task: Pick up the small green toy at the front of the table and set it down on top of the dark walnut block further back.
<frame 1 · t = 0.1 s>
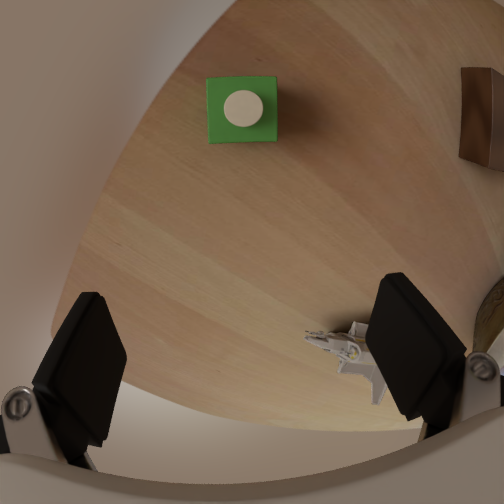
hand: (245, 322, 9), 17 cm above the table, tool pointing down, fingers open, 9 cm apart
green toy: (239, 110, 21), on the table
walnut block: (487, 121, 22), on the table
toy spacecraft: (348, 328, 34), on the table
bowl: (492, 303, 37), on the table
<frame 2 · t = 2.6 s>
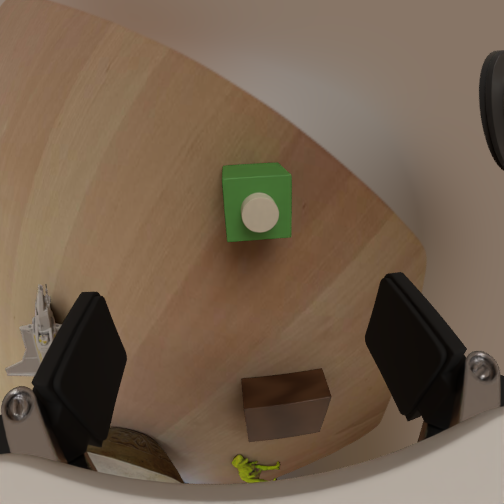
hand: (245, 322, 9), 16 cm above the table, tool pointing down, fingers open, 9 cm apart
green toy: (251, 190, 23), on the table
walnut block: (281, 395, 38), on the table
dinosaur figurine: (251, 465, 53), on the table
toy spacecraft: (58, 318, 28), on the table
bowl: (129, 437, 43), on the table
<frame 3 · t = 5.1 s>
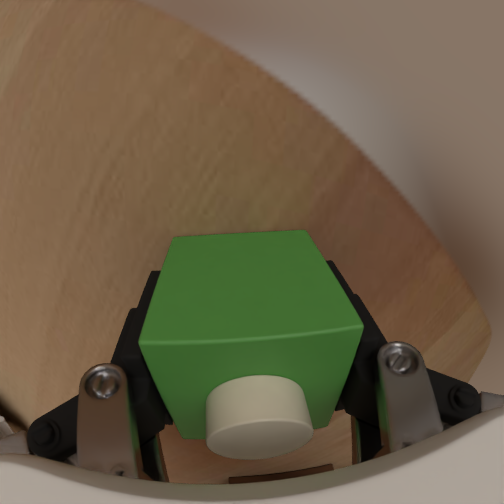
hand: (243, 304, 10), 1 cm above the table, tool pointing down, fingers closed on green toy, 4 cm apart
green toy: (242, 288, 11), on the table, touching gripper
walnut block: (278, 483, 25), on the table
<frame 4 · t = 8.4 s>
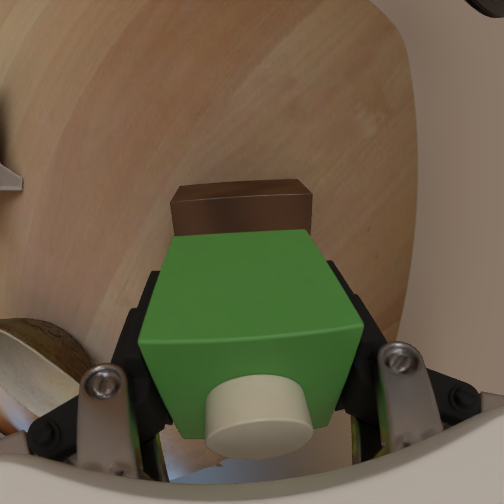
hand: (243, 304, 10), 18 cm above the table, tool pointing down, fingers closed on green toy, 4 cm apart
green toy: (242, 287, 11), point 17 cm above the table, touching gripper
walnut block: (241, 235, 28), on the table
bowl: (55, 345, 34), on the table
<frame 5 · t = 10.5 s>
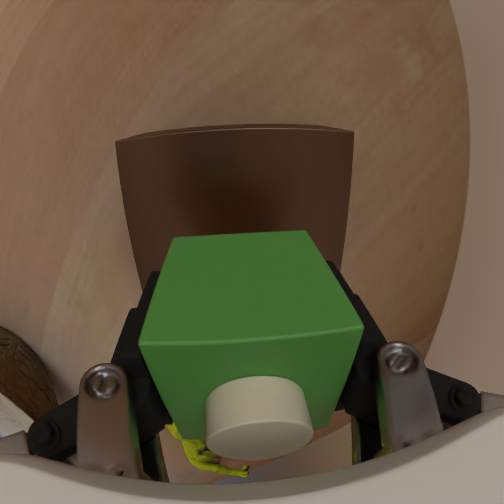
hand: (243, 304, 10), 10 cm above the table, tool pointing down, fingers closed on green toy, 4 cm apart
green toy: (242, 288, 11), point 9 cm above the table, touching gripper
walnut block: (235, 209, 18), on the table
dinosaur figurine: (208, 440, 34), on the table
bowl: (12, 353, 24), on the table
when the fingers open (6 cm above the table, at t = 11.9 s): green toy stays where it is, resting on walnut block.
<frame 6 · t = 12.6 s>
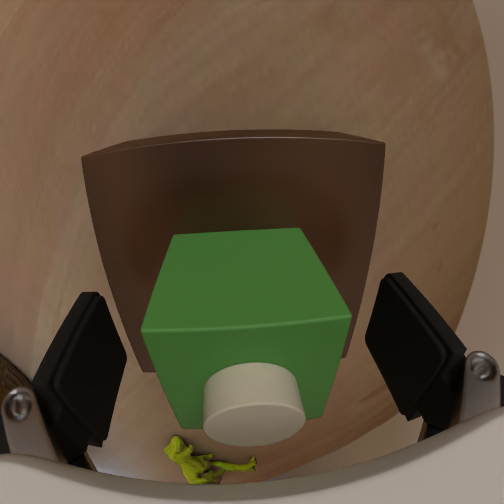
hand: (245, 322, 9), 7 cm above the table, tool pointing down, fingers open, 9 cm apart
green toy: (239, 284, 11), point 5 cm above the table, touching walnut block
walnut block: (235, 232, 15), on the table
dinosaur figurine: (207, 460, 31), on the table
bowl: (2, 372, 21), on the table
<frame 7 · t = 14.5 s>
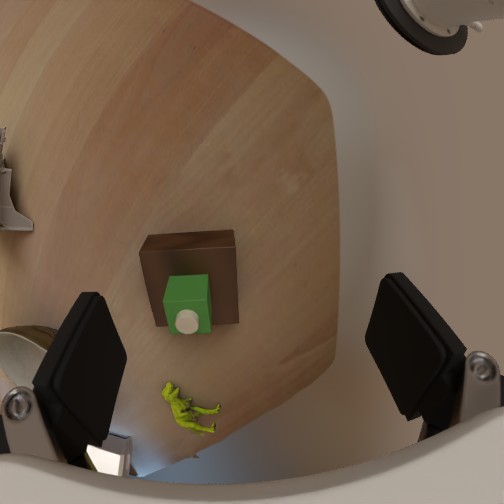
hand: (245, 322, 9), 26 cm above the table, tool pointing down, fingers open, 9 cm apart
green toy: (191, 291, 33), point 5 cm above the table, touching walnut block
walnut block: (194, 270, 37), on the table
dinosaur figurine: (189, 407, 52), on the table
toy spacecraft: (7, 175, 27), on the table
bowl: (57, 347, 42), on the table
white boxy piece: (89, 429, 57), on the table
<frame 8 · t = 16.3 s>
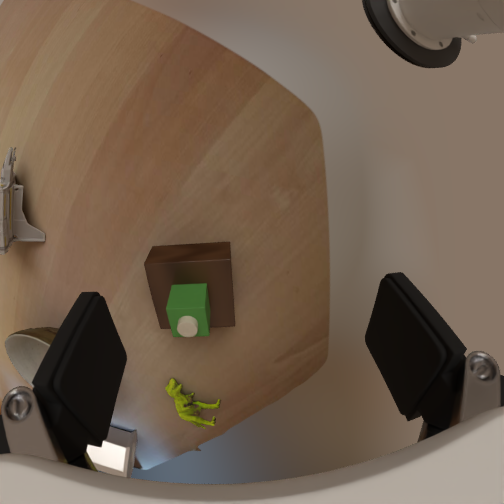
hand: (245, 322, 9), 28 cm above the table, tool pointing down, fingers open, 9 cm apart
green toy: (191, 298, 36), point 5 cm above the table, touching walnut block
walnut block: (194, 277, 41), on the table
dinosaur figurine: (191, 402, 56), on the table
toy spacecraft: (19, 190, 31), on the table
bowl: (68, 346, 46), on the table
white boxy piece: (96, 423, 62), on the table
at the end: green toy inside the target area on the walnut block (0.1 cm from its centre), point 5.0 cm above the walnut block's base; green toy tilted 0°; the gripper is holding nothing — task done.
